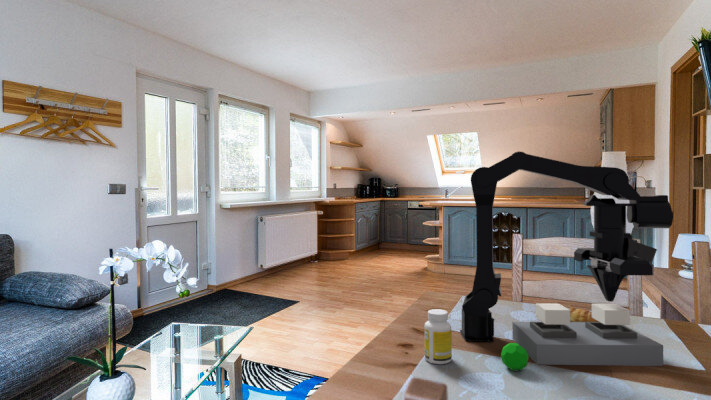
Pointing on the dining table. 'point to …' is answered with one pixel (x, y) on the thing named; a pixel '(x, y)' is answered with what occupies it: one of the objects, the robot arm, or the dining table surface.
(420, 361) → the dining table surface
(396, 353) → the dining table surface
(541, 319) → the button
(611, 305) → the button
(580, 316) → the pastry
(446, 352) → the supplement bottle
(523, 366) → the polyhedron
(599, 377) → the dining table surface
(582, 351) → the panel
